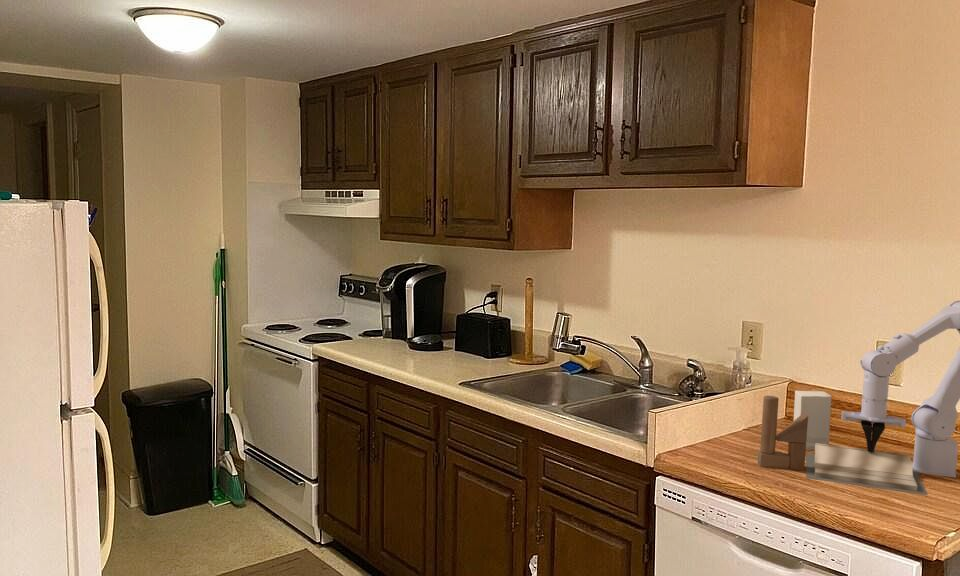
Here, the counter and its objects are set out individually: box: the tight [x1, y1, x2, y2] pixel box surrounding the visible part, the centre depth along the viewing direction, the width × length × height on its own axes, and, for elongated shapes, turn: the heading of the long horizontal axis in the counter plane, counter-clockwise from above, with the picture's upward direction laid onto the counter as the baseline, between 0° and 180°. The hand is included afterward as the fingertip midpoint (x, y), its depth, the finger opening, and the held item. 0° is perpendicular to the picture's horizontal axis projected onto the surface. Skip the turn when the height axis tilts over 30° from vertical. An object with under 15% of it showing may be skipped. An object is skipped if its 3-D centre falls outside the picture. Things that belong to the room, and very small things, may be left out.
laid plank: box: [815, 463, 917, 491], centre depth 192 cm, size 22×8×1 cm, turn 68°
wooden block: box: [757, 395, 808, 471], centre depth 200 cm, size 4×11×18 cm, turn 82°
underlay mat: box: [805, 452, 929, 496], centre depth 197 cm, size 26×22×1 cm
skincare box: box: [793, 390, 833, 452], centre depth 218 cm, size 8×7×16 cm
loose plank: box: [814, 443, 913, 476], centre depth 200 cm, size 22×8×1 cm, turn 68°
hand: (870, 450), depth 201 cm, fingers closed, pressing on loose plank
